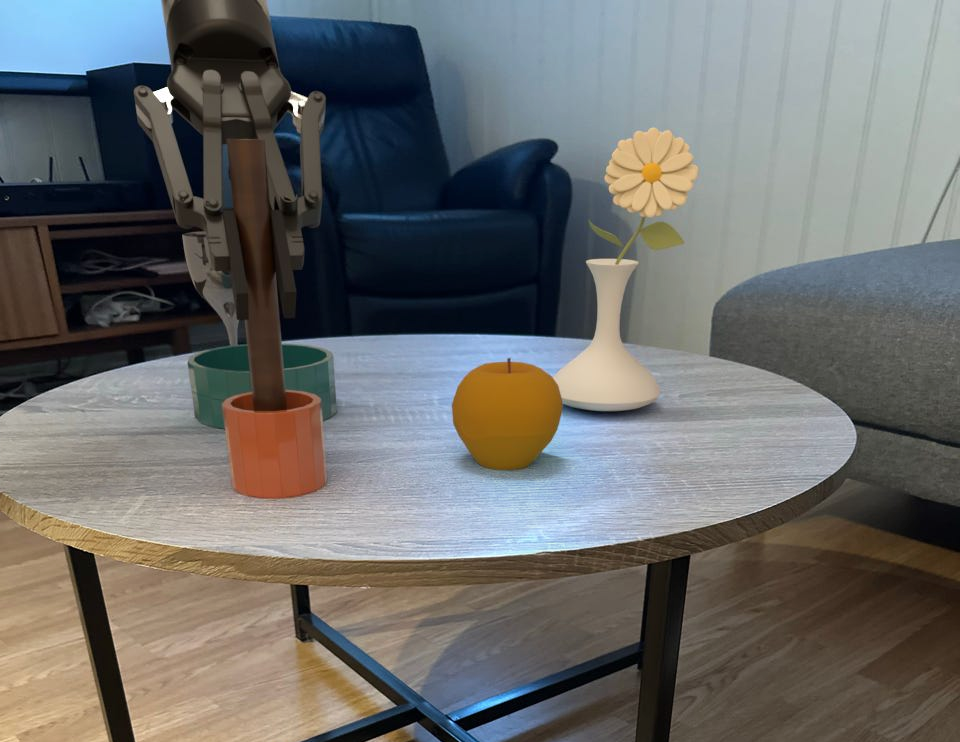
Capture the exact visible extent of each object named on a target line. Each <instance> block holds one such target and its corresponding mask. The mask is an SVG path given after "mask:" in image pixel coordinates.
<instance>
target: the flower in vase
mask: <svg viewBox="0 0 960 742" xmlns="http://www.w3.org/2000/svg"><path fill="white" fill-rule="evenodd" d="M690 149H691V148H690V145H689V144H688V142H687V143H686V142H685V139H684V138H683V137H680V136H679V137H675V136H674V135H673V132H672V131H671V130H669V129H666V130H663V131H660V130H659V129H658V128H657V127H650V128H649V129H648V131H644V132H643V131H642V130H636V131H635V132H634V133H633V138H631V137H629V138H627V139H621V140H619V141H618V143H617V147H616V148H615V150H614V151H613V152H612V154H611V159H610V160H609V162H608V165H607V166H606V169H605V171H606V174H605V175H604V182H605V183H606V184H608V185H609V186H608V191H609V193H610V194H611V195H614V197H613V198H612V201H613V204H614V205H615V206H620V207H621V208H622V209H626V210H627V212H629V213H631V214H635V213H636V212H638V214H639V216H640V217H641V220H640V223H639V225H638V227H637V229H636V231H635V232H634V234H633V235H632V237H631V238H630V239H629V241H628V242H627V243H626V245H625V246H624V244H623V243H622V241H621V240H620V239H619V238H618V237H617V236H616V235H615V234H613V233H612V232H609V231H606V230H604V229H601V228H599V227H598V226H596V225H594V223H592V222H591V220H590V219H587V221H588V225H589V226H590V228H591V229H592V231H593V232H594V233H595V234H596V235H598V236H599V237H600V238H602V239H604V240H606V241H608V242H609V243H612V244H614V245H617V246H619V247H621V248H623V249H622V250H621V252H620V253H619V255H618V257H617V258H593V259H588V260H585V263H586V265H587V267H588V269H589V270H590V272H591V275H592V277H593V281H594V284H595V291H596V301H597V305H596V306H597V307H596V308H597V309H596V310H597V311H596V312H597V313H596V314H597V315H596V318H597V319H596V327H595V331H594V336H593V338H592V340H591V343H589V344H588V345H587V347H586V348H585V349H584V350H582V351H581V352H580V353H579V354H578V355H576V356H575V357H574V358H573V359H572V360H570V361H569V362H568V363H566V364H564V366H563V367H562V368H560V369H559V370H558V371H557V372H556V373H555V374H554V375H553V376H552V378H553V379H554V380H555V382H556V383H557V384H558V386H559V390H560V394H561V398H562V405H565V406H568V407H570V408H576V409H581V410H585V411H587V410H588V411H595V412H621V411H631V410H636V409H640V408H643V407H646V406H648V405H651V404H653V403H654V402H655V401H657V399H658V398H659V396H660V395H661V388H660V386H659V382H658V380H656V378H655V377H654V375H653V374H652V373H651V372H650V371H649V370H648V369H647V368H646V367H645V366H644V365H643V364H642V363H641V362H640V361H639V360H638V359H636V357H634V356H633V355H632V354H631V352H630V351H628V349H627V348H626V346H625V345H624V344H623V341H622V338H621V331H620V327H621V325H620V324H621V323H620V321H621V311H622V306H623V305H622V304H623V298H624V295H625V291H626V287H627V284H628V282H629V279H630V277H631V275H632V274H633V272H634V271H635V269H636V268H637V267H638V265H639V264H640V262H639V261H637V260H634V259H633V260H632V259H626V258H625V259H624V255H625V254H626V252H627V251H628V250H629V249H630V247H631V245H633V243H634V241H635V240H636V239H637V237H638V235H639V234H640V238H641V239H642V241H644V243H645V244H646V246H647V247H648V248H649V249H651V250H653V251H659V250H666V249H669V248H673V247H678V246H681V245H683V244H685V241H684V240H683V238H682V237H681V235H680V233H679V232H678V231H677V230H676V228H674V227H673V226H672V225H670V224H668V222H665V221H656V222H653V223H651V224H648V225H646V226H644V223H645V221H646V217H647V218H654V217H659V216H661V215H662V214H663V211H669V210H670V211H674V210H676V209H678V207H680V206H681V207H682V206H683V205H685V204H686V201H687V200H688V198H689V194H688V192H690V191H691V190H692V189H694V185H695V183H694V181H696V180H697V178H698V173H699V167H698V166H697V165H695V164H692V163H693V162H694V160H695V158H694V155H693V154H692V153H691V152H689V151H690ZM643 226H644V227H643Z"/></svg>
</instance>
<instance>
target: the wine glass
mask: <svg viewBox="0 0 960 742" xmlns="http://www.w3.org/2000/svg"><path fill="white" fill-rule="evenodd" d="M181 236H182V244H183V250H184V251H183V252H184V258H185V262H186V266H187V269H188V273H189V276H190V278H191V281H192V284H193V286H194V289H195V290H196V292H197V293H198V294H199V296H200V297H201V298H202V299H203V300H204V301H205V302H206V303H207V304H208V305H209V306H210V308H212V309H213V310H214V311H215V312H216V314H217V315H218V316H219V318H220V319H221V321H222V323H223V325H224V327H225V330H226V334H227V338H228V343H229V346H232V345H238V328H239V323H240V320H237V316H236V310H235V304H234V297H233V291H232V285H231V279H230V272H229V271H215V270H214V268H213V267H212V265H211V260H210V253H209V247H208V240H207V239H206V233H205V231H204V230H202V231H192V232H185V233H182V235H181Z"/></svg>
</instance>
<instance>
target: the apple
mask: <svg viewBox="0 0 960 742" xmlns="http://www.w3.org/2000/svg"><path fill="white" fill-rule="evenodd" d="M506 360H507V361H496V362H495V361H494V362H485V363H483V364H481V365H478V366H477V367H475V368H473V369H471V370H470V371H469V372H468V373H467V374H466V375H465V376H464V377H463V378H462V380H461V381H460V383H459V384H458V386H457V388H456V390H455V394H454V396H453V399H452V403H451V412H452V413H451V415H452V424H453V426H454V428H455V431H456V433H457V436H458V437H459V439H460V440H461V442H462V443H463V445H464V446H465V447H466V449H467V451H468V452H469V454H470V455H471V457H473V459H474V460H475V461H476V462H477V464H478V465H479V466H481V467H483V468H485V469H490V470H496V471H515V470H523V469H526V468H528V467H529V466H531V464H532V463H533V462H534V461H535V460H536V459H537V458H538V457H539V456H540V454H541V453H542V452H543V451H544V450H545V449H546V448H547V447H548V445H549V444H550V443H551V442H552V440H553V439H554V437H555V435H556V433H557V431H558V429H559V426H560V421H561V418H562V414H563V411H564V408H563V405H564V404H563V403H562V398H561V394H560V390H559V386H558V384H557V383H556V382H555V380H554V379H553V376H552V375H551V374H549V373H548V372H546V371H545V370H544V369H542V368H541V367H539V366H537V365H534V364H531V363H528V362H522V361H511V357H507V359H506Z"/></svg>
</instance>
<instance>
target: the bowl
mask: <svg viewBox="0 0 960 742" xmlns="http://www.w3.org/2000/svg"><path fill="white" fill-rule="evenodd" d="M282 353H283V365H284V377H285V389H286V390H294V391H304V392H308V393H312V394H315V395H317V396H318V397H320V398H321V404H322V417H323V422H324V421H326V420H329V419H330V418H332V417H333V416H334V415H335V414H336V413H337V412H338V406H337V405H338V404H337V391H336V376H335V363H334V362H335V361H334V355H333V352H332V351H330V350H328V349H326V348H323V347H319V346H314V345H309V344H301V343H300V344H299V343H285V342H283V343H282ZM187 369H188V377H189V383H190V391H191V398H192V405H193V412H194V418H195V420H197V421H198V422H199V423H200V424H203V425H206V426H209V427H212V428H215V429H224V430H225V425H224V417H223V409H222V403H223V402H224V401H225V399H227V398H230V397H232V396H235V395H238V394H243V393H248V392H252V388H251V378H250V368H249V358H248V348H247V343H245V344H237V345H232V346H230V345H227V346H220V347H214V348H209V349H206V350H202V351H198V352H195V353H194V354H192V355H190V356H189V357H188V358H187Z"/></svg>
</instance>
